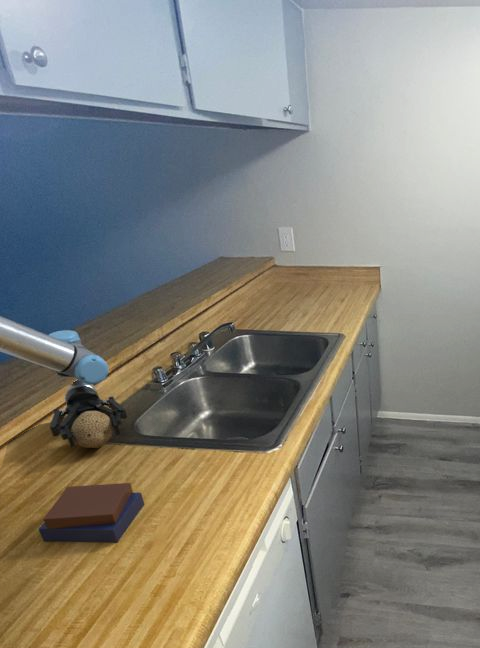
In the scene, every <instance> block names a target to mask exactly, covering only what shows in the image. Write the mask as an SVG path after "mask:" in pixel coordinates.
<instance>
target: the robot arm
mask: <svg viewBox="0 0 480 648" xmlns="http://www.w3.org/2000/svg"><path fill="white" fill-rule="evenodd" d="M0 353H3V354H6V355H10V356H12V357H15V358H18V359H21V360H24V361H27V362H29V363H32V364H36V365H38V366H42V367H44V368H47V369H50V370H53V371H56V375H57V377H58V376H59V377H62V378H63V377H75V378H77V379H78V380H77V381H75V382H73V384H72V385H71V386H70V387H69V388H68V390H67V392H66V394H65V398H64V401H65V404H66V406H65V409H58V408H55V409H52V413H53V416H52V418H51V421H50V424H49V429H50V432H51V435H52V437H56V436H59V435H60V436H61V438H62V440H68V442H69V445H70V447H71V448H74V447H76V445H75V441H74V439H73V437H72V434H71V428H72V425H73V423H74V421H75V420H76V418H77V417H78V416H79V415H81V414H82V413H84V412H86V411H99V412H101V413H104V414H106V415H107V416H108V417H109V418H110V419H111V420H112V423H113V430H114V432H115V434H116V436H118V435H121V431H120V428H119V426H122V424H123V423H122V419H123V420H125V419H127V418H128V414H127V411H126V408H125V407H124V406H123V405H121V404H120V403H119V402H118V401H116V400H115V397H114V396H109V397H108V398H107V399H106V400H103V399H101V398H100V396H99V393H98V390H97V388H96V386H95V385H97V384H100V383H101V382H103V381H104V380H106V378H107V376H108V374H109V370H110V369H109V365H108V363H107V362H106V360H105V359H103V358H102V356H100V355H98V354H96V353H94V352H92V350H89V349H88V348H87V347H86V346H84V345H82V339H81V338H80V335H79V333H78V332H77V331H75V330H69V329H63V330H58V331H53V332H51V333H49V334H47V333H44V332H42V331H39V330H37V329H34V328H31V327H28V326H26V325H24V324H21V323H19V322H16V321H14V320H12V319H9V318H6V317H4V316H2V315H0ZM65 416H66V417H65Z"/></svg>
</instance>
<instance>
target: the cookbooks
mask: <svg viewBox="0 0 480 648" xmlns="http://www.w3.org/2000/svg"><path fill="white" fill-rule="evenodd" d="M132 487H133V486H132V485H131V482H122V483H107V484H106V483H105V484H90V485H74V486H66V488H65V489H64V490H63V492H62V493H61V494H60V496H59V497H58V499H56V501H55V503H54V504H53V505H52V506H51V508H50V509H49V511H48V512H47V513H46V515H45V516H44V517H43V523H42V524H41V525H40V526H39V527H38V531H39V534H40V536H41V539H42V541H43V542H62V543H63V542H67V543H68V542H69V543H73V542H74V543H78V542H79V543H118V542H119V541H120V539H122V538H123V535H125V533H126V532H127V530H128V528H130V525H131V524H132V523H133V521H134V520H135V519H136V517H137V516H138V514H139V513H140V512H141V510H142V509H143V507H144V505H145V501H144V498H143V494H142V492H134V491H133V488H132Z"/></svg>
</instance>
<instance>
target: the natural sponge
mask: <svg viewBox="0 0 480 648" xmlns="http://www.w3.org/2000/svg"><path fill="white" fill-rule="evenodd" d="M70 431H71V434H72V437H73V441H74V443H76V444H77V446H80V447H82V448H89V449H90V448H93V449H99V448H101V447H103V446H105V445H106V444H107V442H108V441H109V440H110V439H111V438H112V435H113V432H114V427H113V423H112V420H111V419H110V418H109V417H108V416H107V415H106V414H104V413H101V412H99V411H86V412H84V413H82V414H81V415H79V416H78V417H77V418H76V420H75V421H74V423H73V425H72V428H71V430H70Z"/></svg>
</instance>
